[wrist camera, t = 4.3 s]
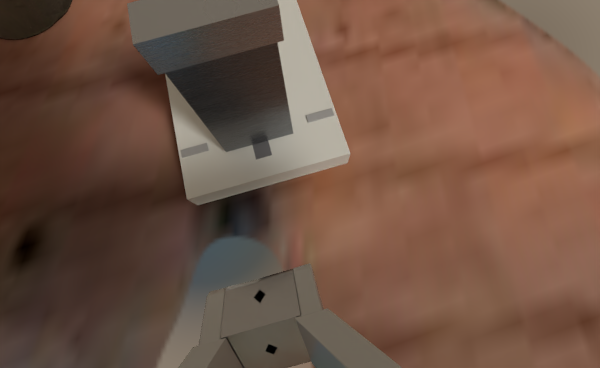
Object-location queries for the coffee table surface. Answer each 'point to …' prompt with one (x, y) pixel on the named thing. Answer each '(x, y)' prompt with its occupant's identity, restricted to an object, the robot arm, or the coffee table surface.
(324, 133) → the board
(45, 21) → the pillar candle
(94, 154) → the coffee table surface
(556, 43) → the coffee table surface
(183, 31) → the fader tab
